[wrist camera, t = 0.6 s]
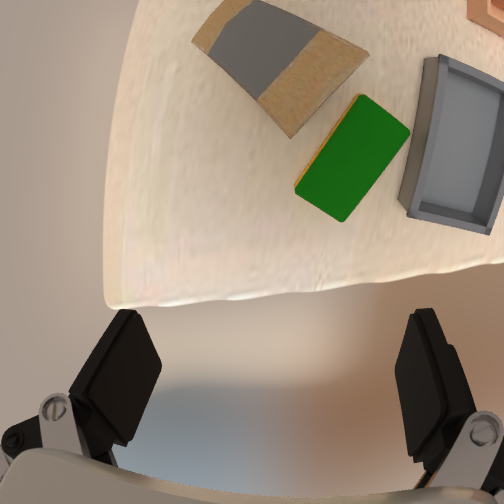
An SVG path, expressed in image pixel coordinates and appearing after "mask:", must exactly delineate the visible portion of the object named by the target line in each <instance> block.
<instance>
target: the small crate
mask: <svg viewBox="0 0 504 504" xmlns="http://www.w3.org/2000/svg"><path fill="white" fill-rule="evenodd" d="M467 19H468V20H471V21H473V22H475V23H477V24H479V25H481V26H483V27H485V28H487V29H488V30H490V31H492V32H494V33H496V34H498V35H500V36H501V37H503V38H504V0H468V15H467Z"/></svg>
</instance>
